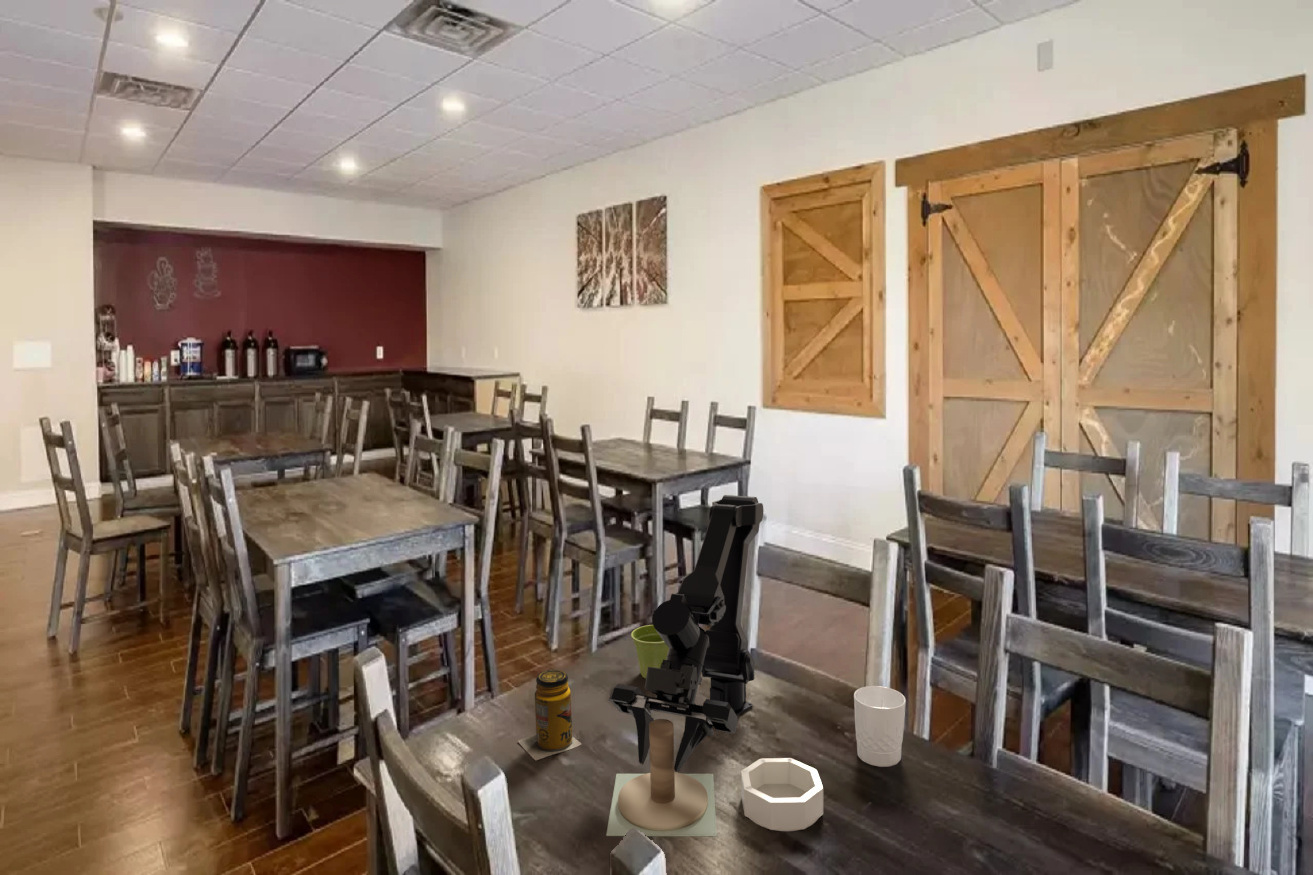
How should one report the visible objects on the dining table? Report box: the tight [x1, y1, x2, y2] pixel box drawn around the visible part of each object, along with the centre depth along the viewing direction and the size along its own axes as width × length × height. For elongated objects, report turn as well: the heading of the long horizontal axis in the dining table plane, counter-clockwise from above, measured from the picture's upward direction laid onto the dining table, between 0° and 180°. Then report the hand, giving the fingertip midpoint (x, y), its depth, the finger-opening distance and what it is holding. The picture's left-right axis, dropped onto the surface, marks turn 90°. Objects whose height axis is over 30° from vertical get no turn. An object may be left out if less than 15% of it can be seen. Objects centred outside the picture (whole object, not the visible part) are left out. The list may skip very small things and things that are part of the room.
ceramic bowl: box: [740, 757, 824, 832], centre depth 110 cm, size 11×11×4 cm
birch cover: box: [618, 718, 708, 831], centre depth 111 cm, size 13×13×12 cm
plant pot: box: [630, 624, 669, 679], centre depth 155 cm, size 9×9×9 cm
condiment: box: [517, 669, 582, 761], centre depth 129 cm, size 7×8×12 cm
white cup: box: [853, 685, 907, 768], centre depth 123 cm, size 8×8×10 cm
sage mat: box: [605, 773, 717, 837], centre depth 112 cm, size 15×15×1 cm
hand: (658, 767), depth 110 cm, fingers open, 5 cm apart
